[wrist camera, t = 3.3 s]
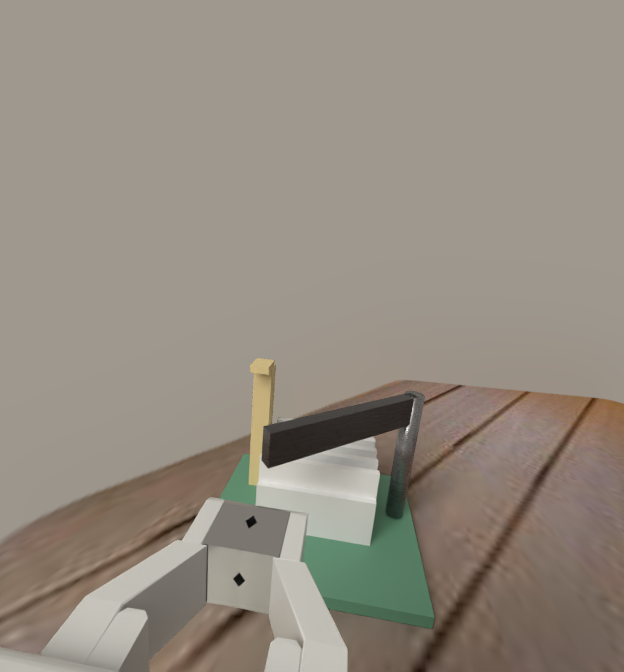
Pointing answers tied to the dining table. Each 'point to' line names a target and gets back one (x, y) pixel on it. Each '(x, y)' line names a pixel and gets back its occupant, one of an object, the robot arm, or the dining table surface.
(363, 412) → the retention bar
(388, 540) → the board
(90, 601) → the robot arm
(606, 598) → the dining table surface
